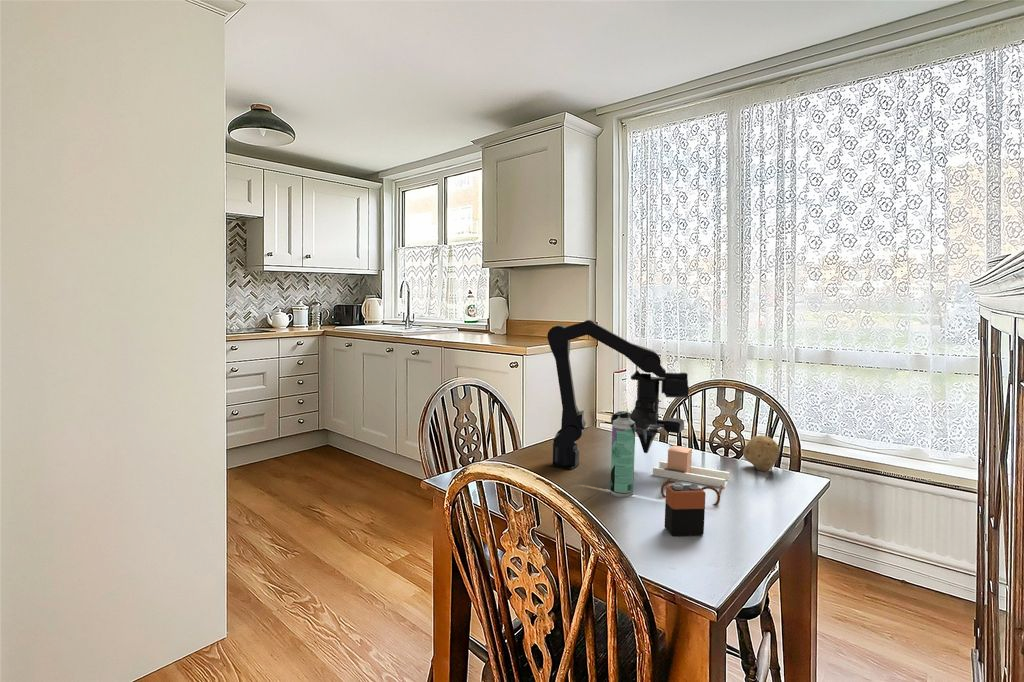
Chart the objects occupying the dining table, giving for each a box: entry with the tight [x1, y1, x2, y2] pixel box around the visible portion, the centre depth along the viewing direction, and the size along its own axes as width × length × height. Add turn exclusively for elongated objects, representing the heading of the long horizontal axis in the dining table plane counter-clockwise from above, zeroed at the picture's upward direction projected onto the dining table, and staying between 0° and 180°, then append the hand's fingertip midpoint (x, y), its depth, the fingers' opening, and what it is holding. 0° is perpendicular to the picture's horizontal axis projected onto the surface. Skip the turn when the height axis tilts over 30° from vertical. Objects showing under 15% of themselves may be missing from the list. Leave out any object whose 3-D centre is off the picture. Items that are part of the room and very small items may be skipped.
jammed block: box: [667, 445, 693, 473], centre depth 145 cm, size 5×5×7 cm
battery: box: [664, 482, 706, 537], centre depth 111 cm, size 4×7×10 cm, turn 95°
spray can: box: [609, 410, 636, 498], centre depth 132 cm, size 6×6×20 cm
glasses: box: [660, 478, 723, 507], centre depth 132 cm, size 13×13×5 cm
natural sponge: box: [742, 434, 780, 472], centre depth 151 cm, size 9×9×10 cm
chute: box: [652, 460, 731, 489], centre depth 144 cm, size 18×7×3 cm, turn 60°
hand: (645, 452), depth 149 cm, fingers closed
